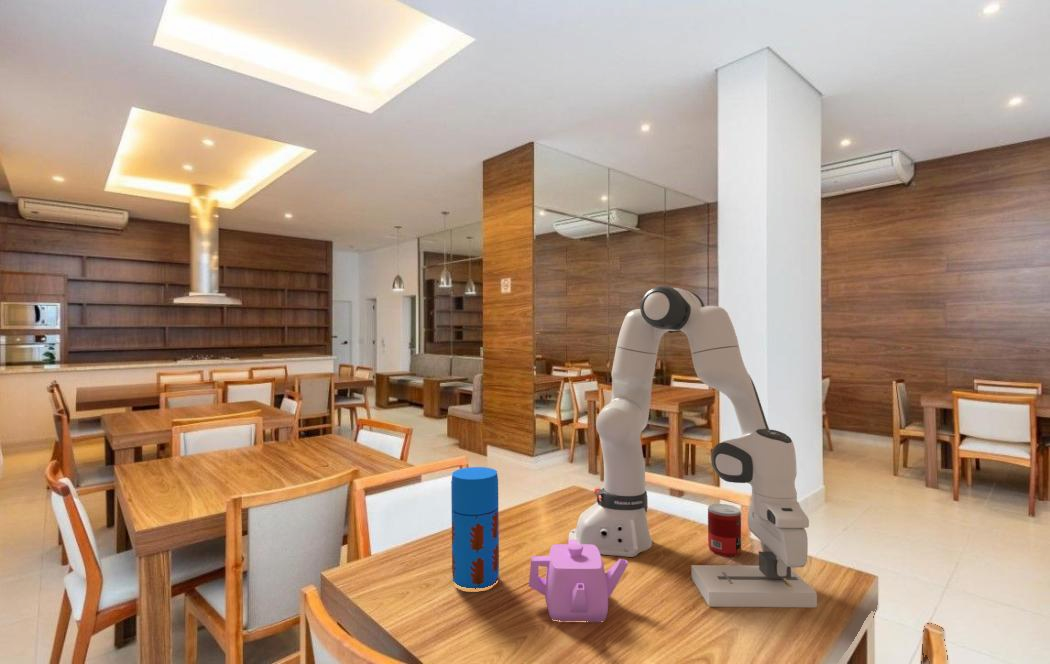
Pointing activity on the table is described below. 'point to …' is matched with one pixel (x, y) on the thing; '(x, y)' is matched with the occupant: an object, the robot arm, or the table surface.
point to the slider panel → (750, 587)
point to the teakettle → (575, 581)
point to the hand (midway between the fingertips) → (774, 568)
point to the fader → (770, 565)
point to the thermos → (475, 527)
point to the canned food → (724, 529)
